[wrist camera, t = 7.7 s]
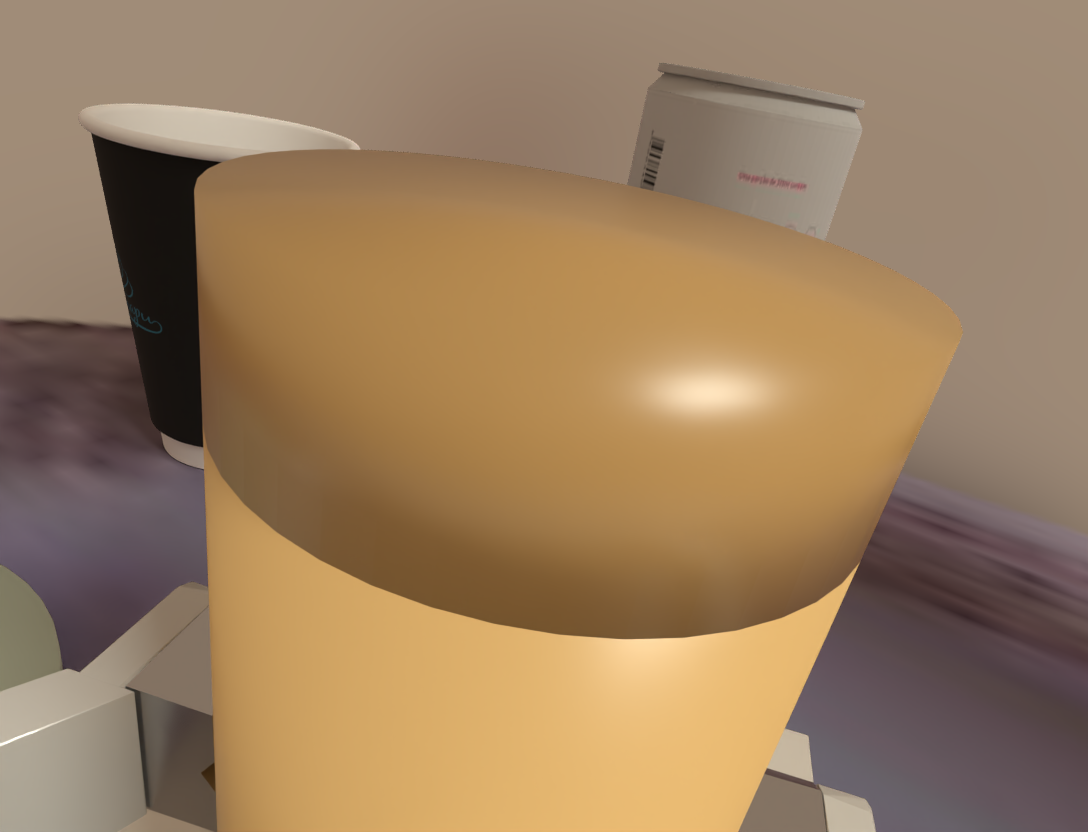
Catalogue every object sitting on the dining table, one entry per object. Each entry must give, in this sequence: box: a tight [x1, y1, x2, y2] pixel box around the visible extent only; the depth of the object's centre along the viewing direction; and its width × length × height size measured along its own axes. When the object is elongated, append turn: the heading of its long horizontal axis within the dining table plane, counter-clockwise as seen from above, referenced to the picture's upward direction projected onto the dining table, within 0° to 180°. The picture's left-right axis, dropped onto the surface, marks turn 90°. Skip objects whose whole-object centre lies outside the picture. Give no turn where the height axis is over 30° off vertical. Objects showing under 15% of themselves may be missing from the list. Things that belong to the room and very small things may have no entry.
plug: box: [194, 149, 963, 832], centre depth 8 cm, size 5×5×14 cm
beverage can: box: [627, 63, 865, 241], centre depth 25 cm, size 7×7×15 cm
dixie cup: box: [78, 104, 360, 469], centre depth 25 cm, size 8×8×11 cm
